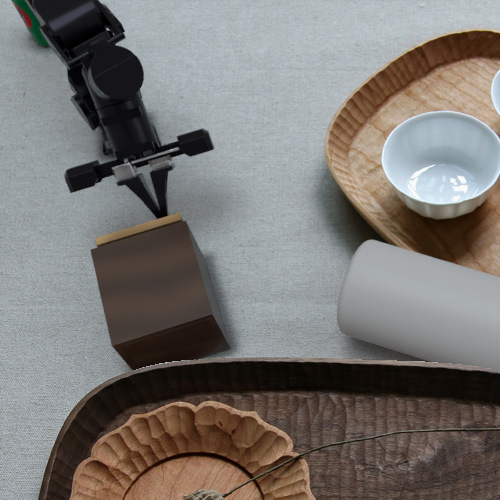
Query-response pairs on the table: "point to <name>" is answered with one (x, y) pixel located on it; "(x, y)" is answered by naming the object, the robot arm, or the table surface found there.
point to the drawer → (138, 229)
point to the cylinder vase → (421, 306)
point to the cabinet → (159, 298)
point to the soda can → (30, 21)
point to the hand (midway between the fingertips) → (166, 224)
